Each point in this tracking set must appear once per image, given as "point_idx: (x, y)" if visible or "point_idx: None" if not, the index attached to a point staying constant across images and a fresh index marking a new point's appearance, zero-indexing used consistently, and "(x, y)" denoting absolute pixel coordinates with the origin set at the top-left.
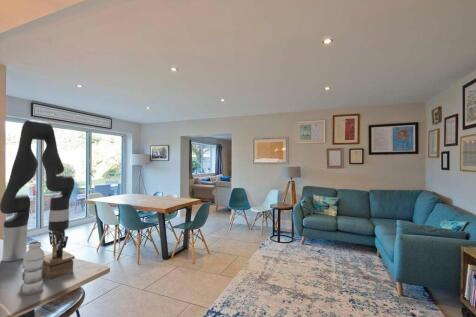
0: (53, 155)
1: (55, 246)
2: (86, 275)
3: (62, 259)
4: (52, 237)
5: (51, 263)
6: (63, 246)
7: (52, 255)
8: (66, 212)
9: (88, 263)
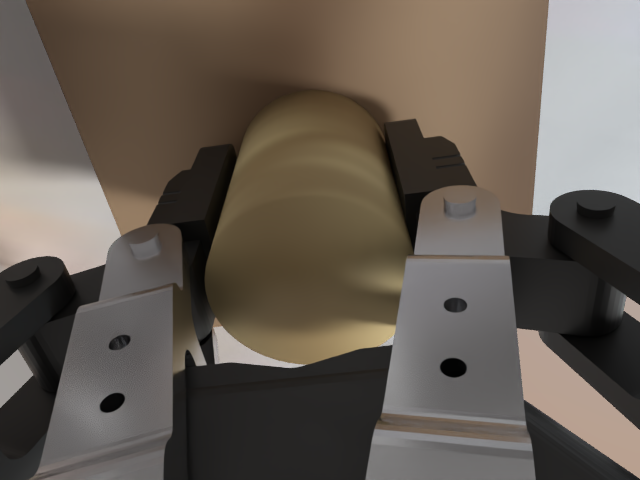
0: None
1: (304, 244)
2: (71, 264)
3: (113, 190)
4: (443, 405)
5: (34, 11)
6: (27, 364)
7: (323, 105)
8: None
9: None
